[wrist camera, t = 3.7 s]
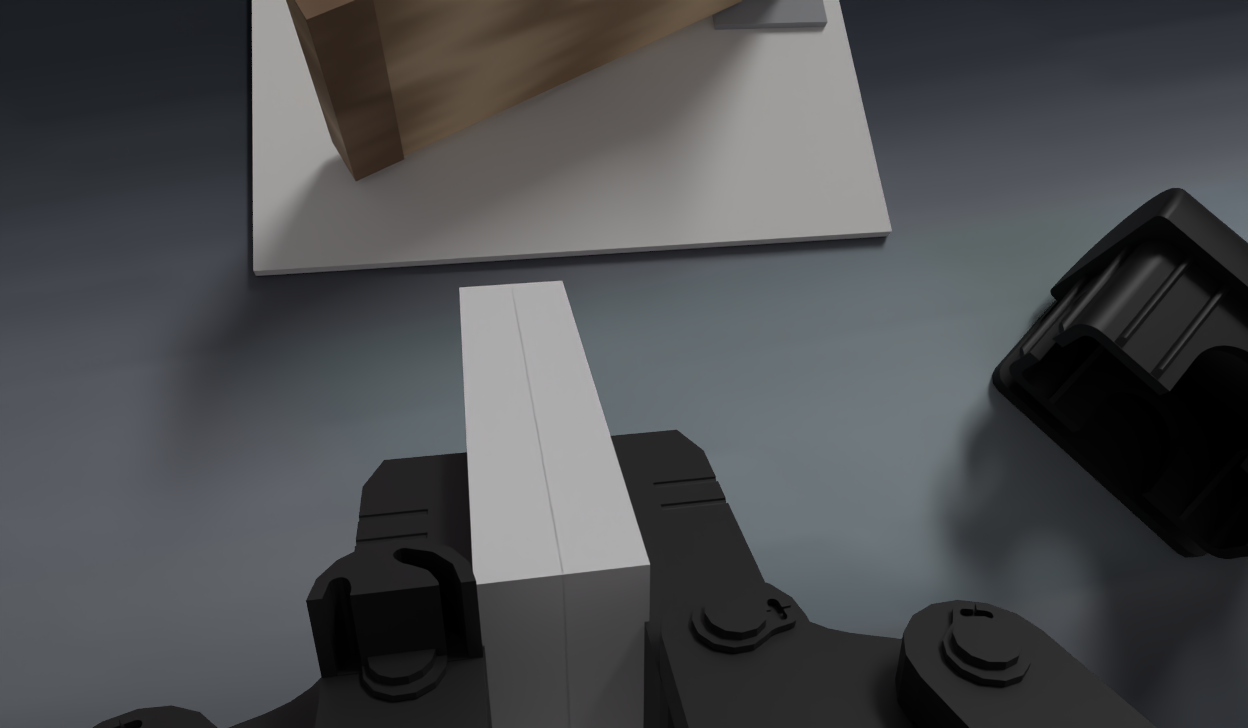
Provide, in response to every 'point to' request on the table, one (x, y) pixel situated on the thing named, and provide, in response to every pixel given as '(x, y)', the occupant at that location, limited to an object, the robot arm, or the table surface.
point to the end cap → (1151, 372)
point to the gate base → (585, 155)
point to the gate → (458, 60)
